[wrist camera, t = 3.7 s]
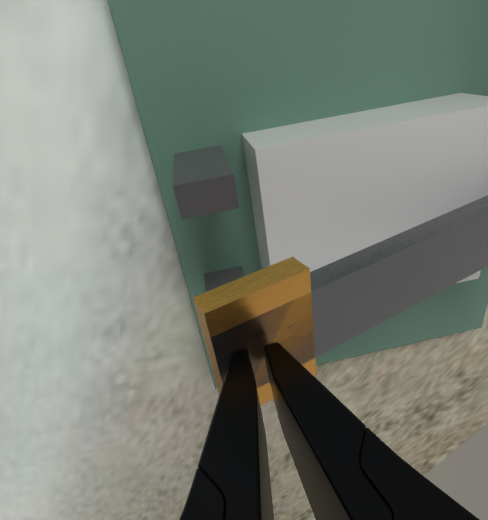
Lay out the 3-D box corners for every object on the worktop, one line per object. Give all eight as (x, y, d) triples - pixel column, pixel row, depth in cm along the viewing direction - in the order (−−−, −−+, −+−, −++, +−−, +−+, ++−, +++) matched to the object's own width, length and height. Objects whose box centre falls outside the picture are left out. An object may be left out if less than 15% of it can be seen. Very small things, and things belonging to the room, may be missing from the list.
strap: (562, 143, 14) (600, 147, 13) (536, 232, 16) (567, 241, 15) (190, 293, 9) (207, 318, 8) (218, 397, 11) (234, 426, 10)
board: (470, 317, 25) (556, 394, 19) (214, 376, 24) (224, 475, 18) (571, -129, 14) (844, -259, 8) (95, -57, 13) (28, -149, 7)
